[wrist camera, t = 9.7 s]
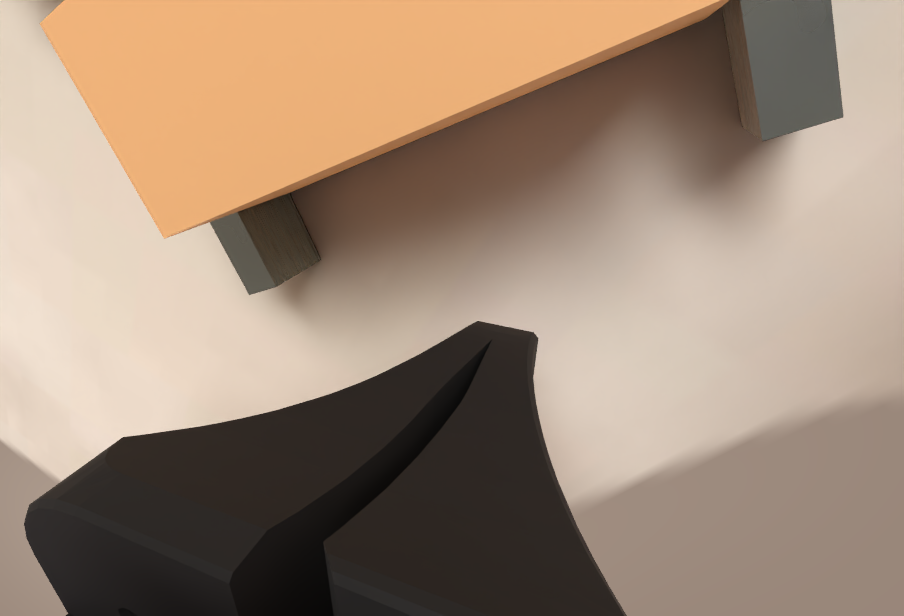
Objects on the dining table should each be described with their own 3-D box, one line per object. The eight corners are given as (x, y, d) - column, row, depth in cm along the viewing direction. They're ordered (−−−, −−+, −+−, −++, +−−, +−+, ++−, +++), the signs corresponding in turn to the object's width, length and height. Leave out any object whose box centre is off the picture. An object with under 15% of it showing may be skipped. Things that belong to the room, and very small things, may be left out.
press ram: (705, 18, 8) (742, -10, 5) (290, 192, 13) (164, 238, 10) (652, -271, 7) (654, -564, 4) (214, 34, 12) (40, 24, 8)
